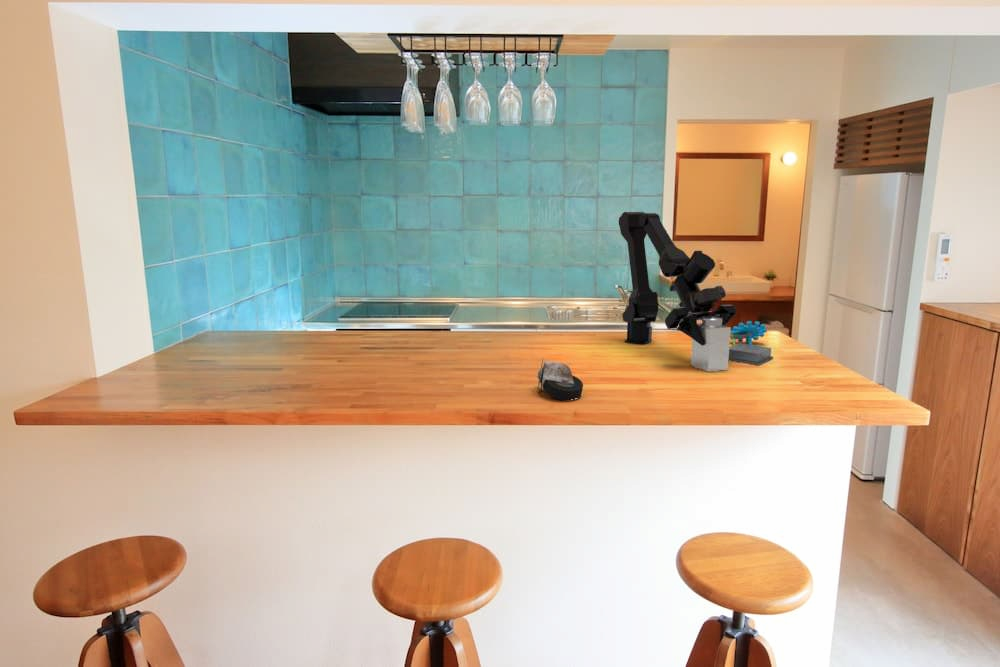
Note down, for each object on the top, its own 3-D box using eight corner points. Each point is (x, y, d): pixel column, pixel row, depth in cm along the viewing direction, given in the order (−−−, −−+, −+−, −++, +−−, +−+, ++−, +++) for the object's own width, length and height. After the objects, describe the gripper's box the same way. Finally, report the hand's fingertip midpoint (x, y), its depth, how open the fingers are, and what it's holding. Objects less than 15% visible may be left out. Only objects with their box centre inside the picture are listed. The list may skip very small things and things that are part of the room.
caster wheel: (579, 412, 138) (533, 404, 138) (579, 387, 148) (536, 380, 149) (585, 385, 135) (538, 377, 136) (584, 361, 146) (540, 354, 146)
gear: (765, 336, 194) (766, 317, 186) (768, 353, 191) (769, 334, 183) (726, 339, 197) (726, 321, 190) (728, 355, 194) (729, 337, 186)
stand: (721, 359, 173) (722, 348, 172) (736, 353, 180) (737, 342, 180) (758, 365, 166) (759, 354, 166) (773, 358, 174) (773, 347, 173)
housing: (690, 365, 167) (693, 316, 164) (710, 363, 169) (713, 314, 166) (707, 372, 160) (711, 321, 158) (727, 370, 162) (731, 319, 159)
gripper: (673, 276, 160) (698, 328, 152) (735, 273, 166) (762, 323, 158) (654, 303, 169) (677, 353, 161) (713, 299, 175) (738, 347, 167)
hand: (714, 343), depth 162 cm, fingers closed on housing, 6 cm apart
